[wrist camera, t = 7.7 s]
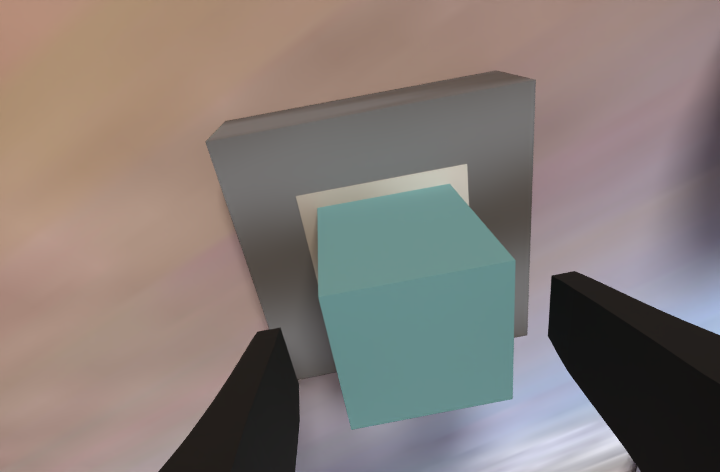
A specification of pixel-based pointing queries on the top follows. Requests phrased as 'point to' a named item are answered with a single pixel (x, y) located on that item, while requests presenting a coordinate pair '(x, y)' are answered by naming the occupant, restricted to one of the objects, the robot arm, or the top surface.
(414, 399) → the teal block
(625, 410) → the robot arm
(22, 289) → the top surface
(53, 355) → the top surface
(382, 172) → the plinth
